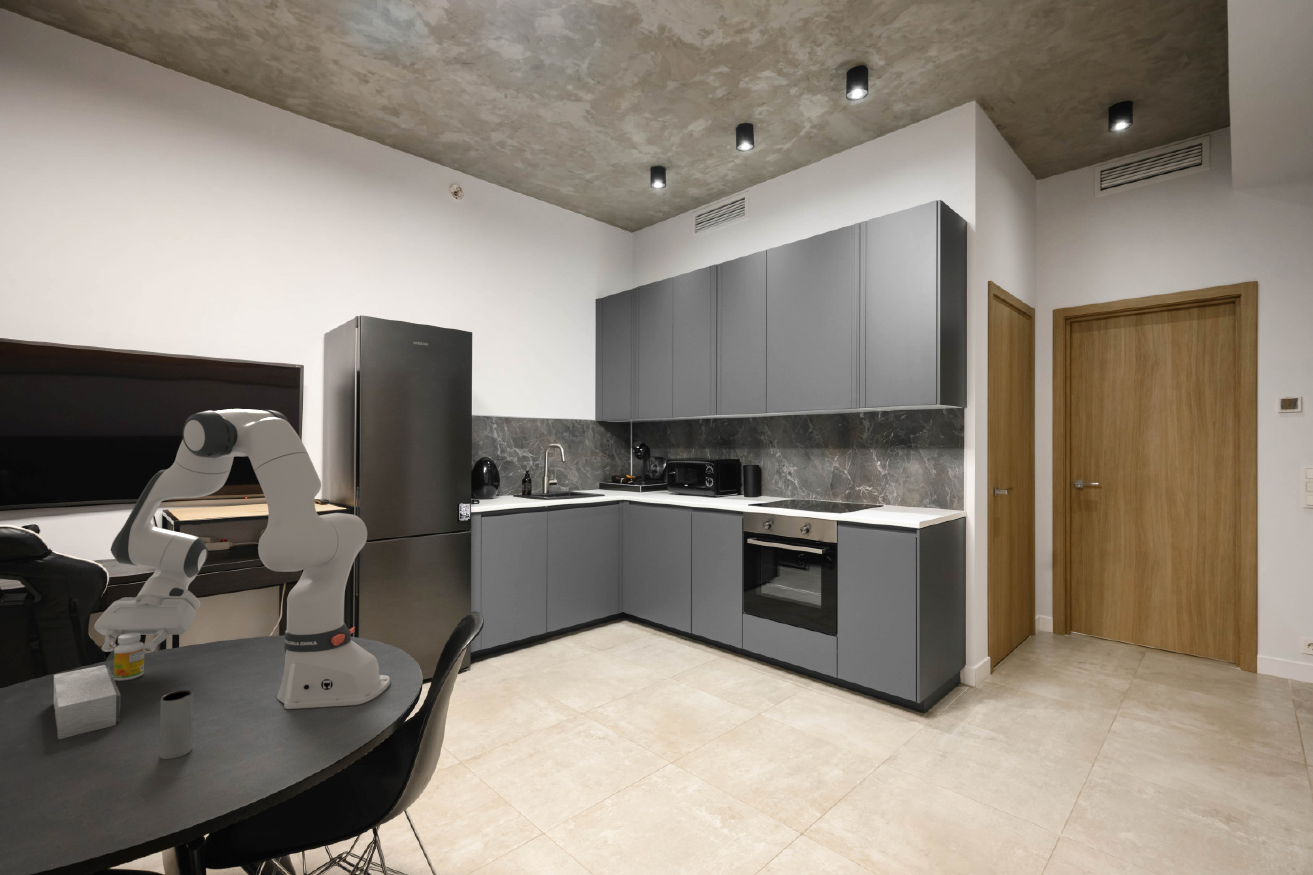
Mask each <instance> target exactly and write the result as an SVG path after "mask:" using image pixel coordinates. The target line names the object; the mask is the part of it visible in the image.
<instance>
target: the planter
mask: <svg viewBox="0 0 1313 875" xmlns="http://www.w3.org/2000/svg"><path fill="white" fill-rule="evenodd" d="M193 721H194V692H193V691H192V690H187V689H182V690H175V691H172V692H169V693H167V694H165V695H163V696H161V698H160V726H159V728H160V730H159V733H160V735H159V738H160V739H159V740H160V741H159V757H160V758H161V759H163V760H172V759H175V758H176V759H177V758H180V757H182V756H185V755H187V754H188V753H190V752H191V751H192V750H193V736H194V735H193V734H194V730H193V727H194V722H193Z"/></svg>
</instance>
